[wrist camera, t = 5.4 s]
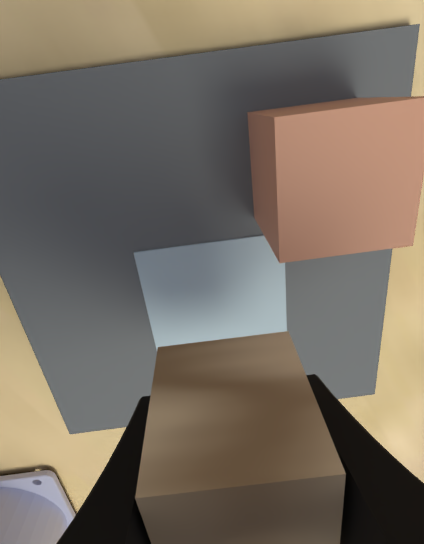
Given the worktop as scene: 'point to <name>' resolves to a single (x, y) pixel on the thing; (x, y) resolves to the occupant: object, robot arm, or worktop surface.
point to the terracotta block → (337, 175)
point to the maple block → (237, 448)
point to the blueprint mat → (177, 218)
